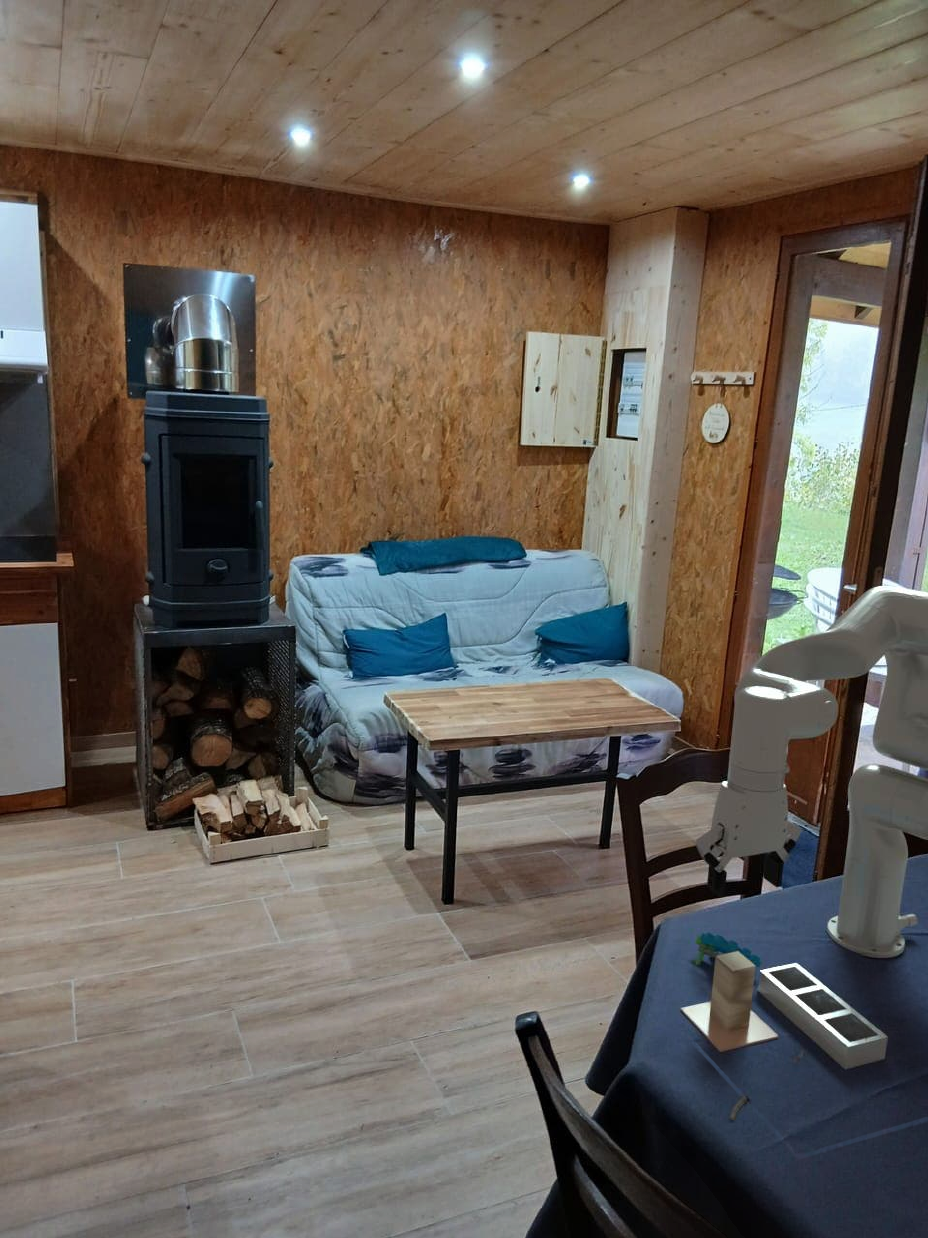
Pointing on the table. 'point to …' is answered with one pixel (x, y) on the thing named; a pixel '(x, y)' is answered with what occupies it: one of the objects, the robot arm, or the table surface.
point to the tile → (730, 1039)
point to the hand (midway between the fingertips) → (744, 887)
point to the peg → (732, 991)
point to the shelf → (823, 1016)
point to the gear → (721, 948)
